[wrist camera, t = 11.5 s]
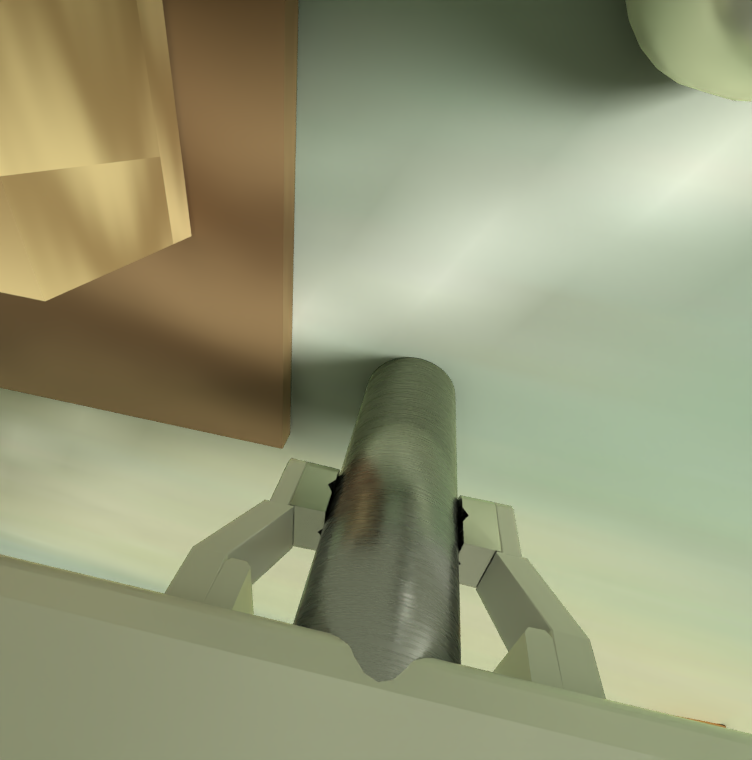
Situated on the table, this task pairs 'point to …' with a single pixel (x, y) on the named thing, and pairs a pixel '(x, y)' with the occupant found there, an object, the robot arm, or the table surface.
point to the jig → (194, 252)
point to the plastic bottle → (698, 42)
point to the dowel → (393, 528)
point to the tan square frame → (85, 142)
